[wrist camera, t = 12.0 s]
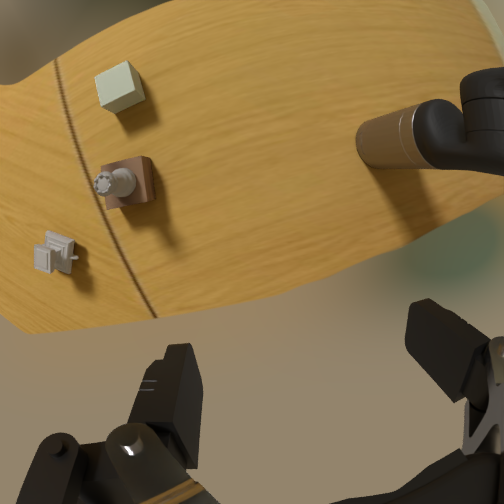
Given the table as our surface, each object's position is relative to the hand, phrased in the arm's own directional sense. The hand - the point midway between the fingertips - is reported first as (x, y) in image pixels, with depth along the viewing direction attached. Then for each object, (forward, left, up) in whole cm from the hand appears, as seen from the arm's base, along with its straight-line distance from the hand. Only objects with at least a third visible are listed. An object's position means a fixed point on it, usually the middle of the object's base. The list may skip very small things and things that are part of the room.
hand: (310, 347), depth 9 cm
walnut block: (+18, -8, -38) cm, 43 cm away
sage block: (+18, -24, -38) cm, 49 cm away
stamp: (+35, +1, -38) cm, 52 cm away
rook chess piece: (+18, -8, -33) cm, 39 cm away
